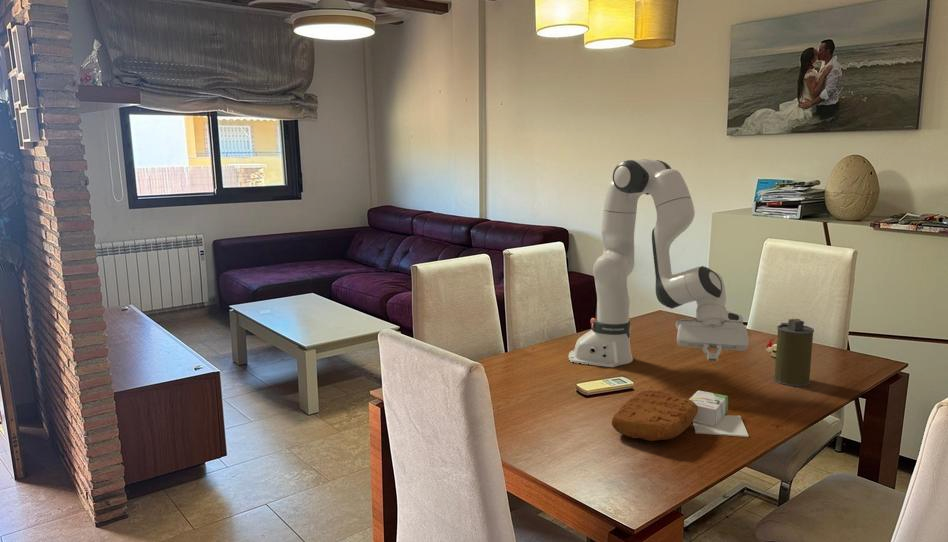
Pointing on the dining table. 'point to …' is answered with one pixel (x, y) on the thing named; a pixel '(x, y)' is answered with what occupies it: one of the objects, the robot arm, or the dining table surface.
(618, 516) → the dining table surface
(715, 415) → the ink box
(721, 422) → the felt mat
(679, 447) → the dining table surface
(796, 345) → the canister
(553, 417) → the dining table surface
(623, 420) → the cuneiform tablet
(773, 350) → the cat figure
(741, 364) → the dining table surface
